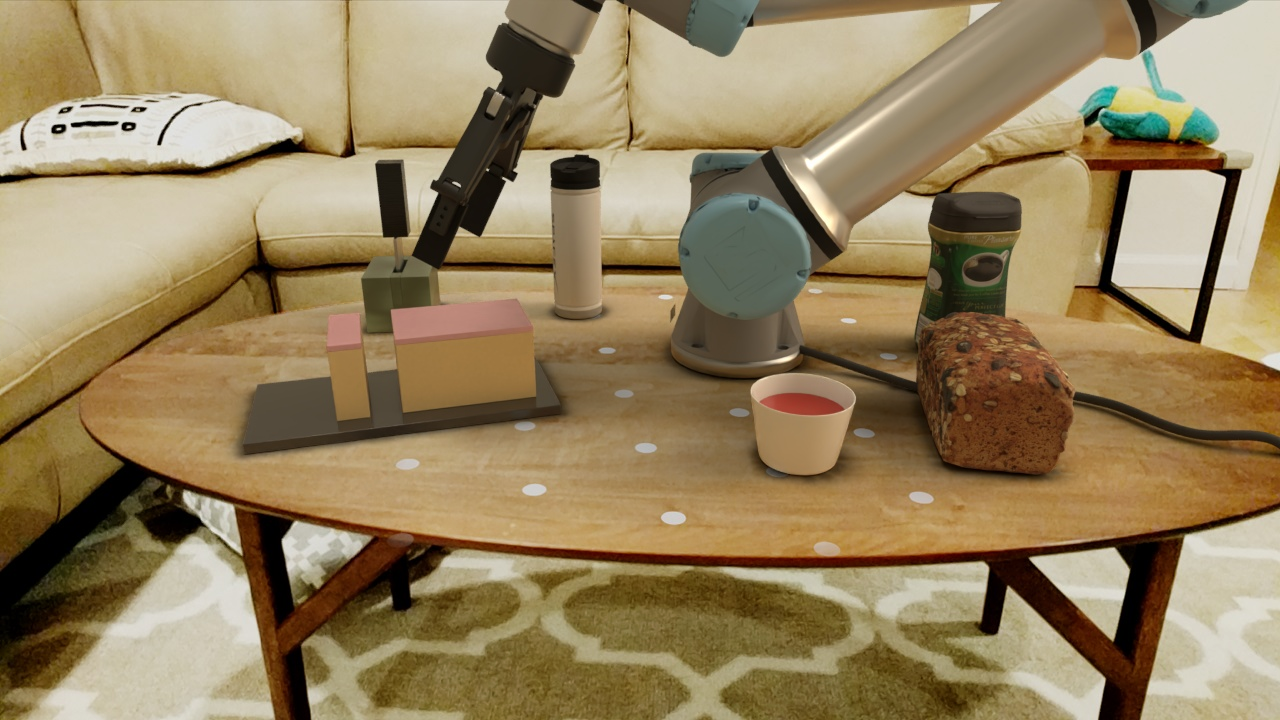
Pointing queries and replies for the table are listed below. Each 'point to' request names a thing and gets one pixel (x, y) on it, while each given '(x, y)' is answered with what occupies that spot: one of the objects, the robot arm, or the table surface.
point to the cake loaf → (463, 354)
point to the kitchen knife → (393, 205)
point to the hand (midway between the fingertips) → (449, 245)
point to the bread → (993, 394)
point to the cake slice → (348, 366)
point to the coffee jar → (969, 254)
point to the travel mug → (576, 236)
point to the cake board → (311, 419)
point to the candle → (800, 421)
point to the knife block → (396, 289)
